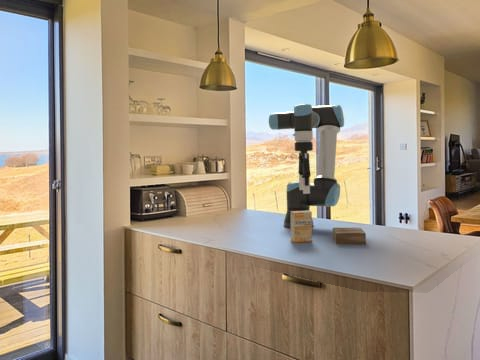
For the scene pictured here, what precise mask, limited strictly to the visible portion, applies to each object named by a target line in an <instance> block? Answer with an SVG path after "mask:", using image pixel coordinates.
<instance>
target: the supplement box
mask: <svg viewBox="0 0 480 360" xmlns="http://www.w3.org/2000/svg"><path fill="white" fill-rule="evenodd" d="M312 215H313V212H312V210H311V211H291V228H290V242H292V243H295V244H296V243H306V242H310V243H311V242H312V241H313V231H312V230H313V229H312V228H313V226H312V219H313V216H312Z"/></svg>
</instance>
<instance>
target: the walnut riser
mask: <svg viewBox="0 0 480 360" xmlns="http://www.w3.org/2000/svg"><path fill="white" fill-rule="evenodd" d="M366 237H367V235H366V231H364V230H363V228H362V227H332V239H333V242H334V243H335V245H361V246H362V245H365V246H366V242H367V241H366V240H367V238H366Z"/></svg>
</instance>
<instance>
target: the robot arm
mask: <svg viewBox="0 0 480 360" xmlns="http://www.w3.org/2000/svg"><path fill="white" fill-rule="evenodd" d="M344 117H345V116H344V112H343V109H342V106H341V105H339V104H330V105H315V106H312V104H310V103H302V104H301V103H300V104H296V105H294V106H293V111H286V112H273V113H270V115H269V117H268V125H269V128H270V129H271V130H276V131H278V130H293V129H294V133H293V134H292V136H293V137H294V141H295V142H294V151H295V152H299V153H298V172H297V173H298V180H297V181H292V182H289V183H287V184H286V191H285V192H286V213H285V216H284V220H283V227H286V228H290V229H291V211H310V207H327V208H328V207H335V206H337V204H338V202H339V200H340V196H341V194H340V193H341V185H340V183H338V180H337V179H336V177H335V170H336V155H337V154H336V153H337V140H338V134H339V133H340V132H341V128H343V127H344V126H345V118H344ZM313 129H317V131H318V132H319V134H320V135H319V147H318V149H319V150H318V159H317V160H318V161H317V172H316V173H317V174H316V177H314V178H313V182H311V175H312V174H311V166H310V153H308V152H310V151H311V152H312V151H314V150H313V149H314V147H313V146H314V145H313V142H312V141H313V139H314V137H313V136H314V135H313ZM312 227H314V220H313V218H312Z"/></svg>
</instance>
